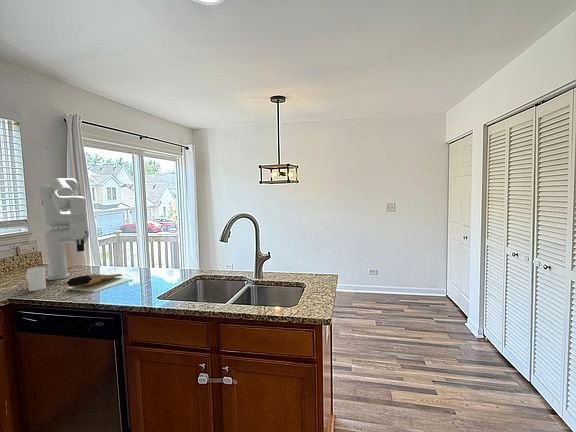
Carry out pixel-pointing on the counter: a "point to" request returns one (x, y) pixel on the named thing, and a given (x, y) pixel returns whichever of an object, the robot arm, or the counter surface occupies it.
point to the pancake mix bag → (89, 279)
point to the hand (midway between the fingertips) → (80, 251)
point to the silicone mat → (101, 285)
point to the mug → (36, 278)
